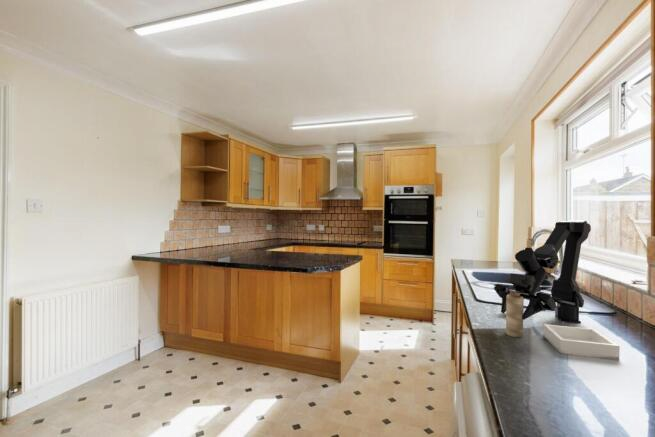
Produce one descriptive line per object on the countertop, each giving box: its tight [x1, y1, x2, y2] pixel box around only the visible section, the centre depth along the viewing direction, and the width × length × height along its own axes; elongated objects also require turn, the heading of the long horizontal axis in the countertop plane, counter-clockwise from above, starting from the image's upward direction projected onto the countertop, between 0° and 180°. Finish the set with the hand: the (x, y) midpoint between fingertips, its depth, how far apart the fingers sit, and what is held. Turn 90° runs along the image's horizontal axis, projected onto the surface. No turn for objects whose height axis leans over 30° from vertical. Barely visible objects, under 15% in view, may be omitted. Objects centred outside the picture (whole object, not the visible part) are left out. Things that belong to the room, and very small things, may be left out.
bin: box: [543, 323, 620, 361], centre depth 97 cm, size 14×14×4 cm
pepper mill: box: [505, 290, 525, 338], centre depth 107 cm, size 5×5×14 cm
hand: (512, 315), depth 106 cm, fingers open, 7 cm apart
